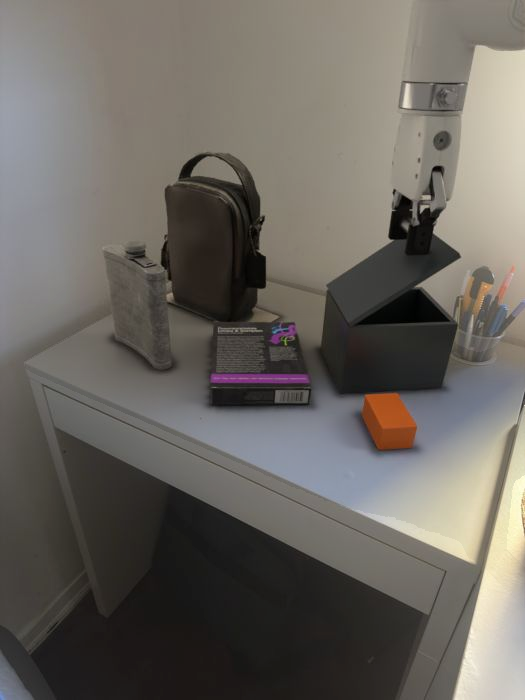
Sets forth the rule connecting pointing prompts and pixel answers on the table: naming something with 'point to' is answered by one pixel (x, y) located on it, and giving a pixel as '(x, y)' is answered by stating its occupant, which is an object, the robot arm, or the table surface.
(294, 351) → the box
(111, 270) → the flask
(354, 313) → the bin lid
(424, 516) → the table surface
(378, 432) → the orange rectangular block
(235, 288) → the shoulder bag
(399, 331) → the bin
